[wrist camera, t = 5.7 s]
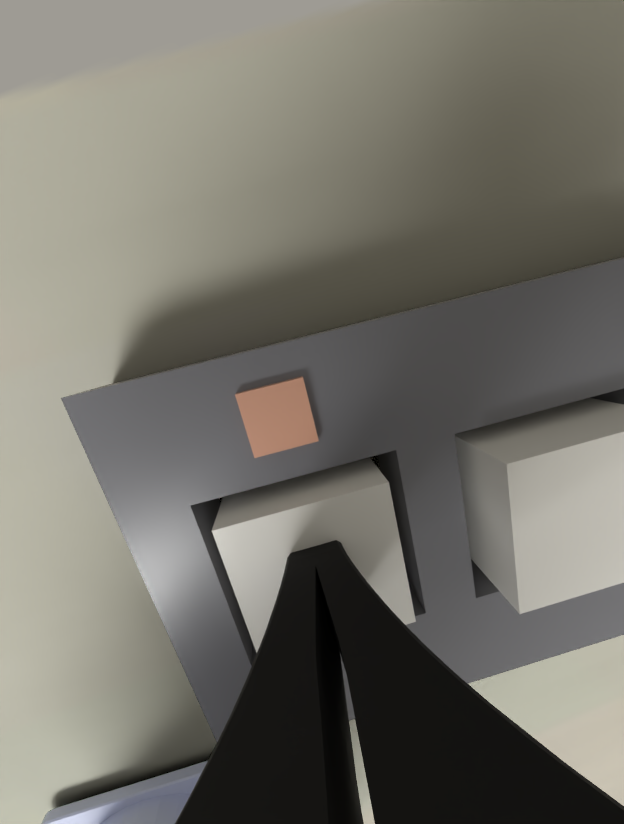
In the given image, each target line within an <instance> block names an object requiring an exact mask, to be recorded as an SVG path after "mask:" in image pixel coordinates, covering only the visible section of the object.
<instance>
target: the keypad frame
mask: <svg viewBox="0 0 624 824" xmlns="http://www.w3.org/2000/svg"><path fill="white" fill-rule="evenodd" d="M586 398H593V399H598V400H603V401H608V402H613V403H618V404H624V257H620V258H616V259H612V260H608V261H604V262H600V263H596V264H592V265H588V266H584V267H580V268H576V269H572V270H568V271H564V272H560V273H556V274H552V275H548V276H544V277H540V278H536V279H532V280H528V281H524V282H520V283H516V284H512V285H508V286H504V287H499V288H495V289H491V290H487V291H483V292H479V293H475V294H471V295H467V296H463V297H459V298H455V299H451V300H447V301H443V302H439V303H435V304H431V305H427V306H423V307H419V308H415V309H411V310H407V311H403V312H399V313H395V314H391V315H387V316H383V317H379V318H375V319H371V320H367V321H363V322H359V323H354V324H350V325H346V326H342V327H338V328H334V329H330V330H326V331H322V332H318V333H314V334H310V335H306V336H302V337H298V338H294V339H290V340H286V341H282V342H278V343H274V344H270V345H266V346H262V347H258V348H254V349H250V350H246V351H242V352H238V353H234V354H230V355H226V356H222V357H218V358H213V359H209V360H205V361H201V362H197V363H193V364H189V365H185V366H181V367H177V368H173V369H169V370H165V371H161V372H157V373H153V374H149V375H145V376H141V377H137V378H133V379H129V380H125V381H121V382H117V383H113V384H109V385H106V386H102V387H99V388H95V389H91V390H88V391H84V392H81V393H77V394H74V395H70V396H67V397H63V398H61V399H62V401H63V404H64V406H65V408H66V410H67V412H68V415H69V417H70V419H71V421H72V424H73V426H74V428H75V430H76V432H77V435H78V437H79V439H80V441H81V443H82V446H83V448H84V450H85V452H86V454H87V457H88V459H89V461H90V463H91V465H92V468H93V470H94V472H95V474H96V476H97V479H98V481H99V483H100V485H101V488H102V490H103V492H104V494H105V496H106V499H107V501H108V503H109V505H110V507H111V510H112V512H113V514H114V516H115V518H116V521H117V523H118V525H119V527H120V529H121V532H122V534H123V536H124V538H125V541H126V543H127V545H128V547H129V549H130V552H131V554H132V556H133V558H134V560H135V563H136V565H137V567H138V569H139V571H140V574H141V576H142V578H143V580H144V582H145V585H146V587H147V589H148V591H149V593H150V596H151V598H152V600H153V602H154V605H155V607H156V609H157V611H158V613H159V616H160V618H161V620H162V622H163V624H164V627H165V629H166V631H167V633H168V635H169V638H170V640H171V642H172V644H173V646H174V649H175V651H176V653H177V655H178V658H179V660H180V662H181V664H182V666H183V669H184V671H185V673H186V675H187V677H188V680H189V682H190V684H191V686H192V688H193V691H194V693H195V695H196V697H197V699H198V702H199V704H200V706H201V708H202V710H203V713H204V715H205V717H206V719H207V722H208V724H209V726H210V728H211V730H212V733H213V735H214V737H215V739H216V741H217V742H218V740H219V738H220V736H221V734H222V732H223V730H224V727H225V725H226V723H227V721H228V719H229V717H230V715H231V713H232V711H233V708H234V706H235V704H236V702H237V700H238V697H239V695H240V693H241V691H242V688H243V686H244V684H245V681H246V679H247V677H248V674H249V672H250V669H251V667H252V664H253V662H254V659H255V657H256V654H257V653H256V650H255V647H254V645H253V642H252V639H251V636H250V634H249V631H248V628H247V626H246V623H245V620H244V617H243V615H242V612H241V609H240V607H239V604H238V601H237V598H236V596H235V593H234V590H233V588H232V585H231V582H230V579H229V577H228V574H227V571H226V569H225V566H224V563H223V560H222V558H221V555H220V552H219V550H218V547H217V544H216V541H215V539H214V536H213V533H212V528H213V525H214V522H215V519H216V516H217V513H218V510H219V507H220V501H219V498H221V497H224V496H228V495H232V494H235V493H239V492H243V491H246V490H250V489H254V488H258V487H261V486H265V485H269V484H272V483H276V482H280V481H283V480H287V479H291V478H294V477H298V476H302V475H306V474H309V473H313V472H317V471H320V470H324V469H328V468H331V467H335V466H339V465H342V464H346V463H350V462H354V461H357V460H361V459H365V458H368V457H372V456H376V455H377V457H378V462H379V467H380V471H381V473H382V474H383V475H384V476H385V478H386V479H387V480H388V482H389V486H390V491H391V496H392V501H393V506H394V511H395V516H396V522H397V527H398V532H399V537H400V542H401V547H402V553H403V558H404V563H405V568H406V573H407V578H408V583H409V589H410V594H411V599H412V604H413V609H414V614H415V619H416V622H413V623H410V624H407V625H406V626H407V627H408V628H409V629H410V630H411V631H412V632H413V633H414V634H415V635H416V636H417V637H418V638H419V639H420V640H421V641H422V642H423V643H424V644H425V645H426V646H427V647H428V648H429V649H430V650H431V651H432V652H433V653H434V654H435V655H436V656H437V657H438V658H440V659H441V660H442V661H443V662H444V663H445V664H446V665H447V666H448V667H449V668H450V669H451V670H453V671H454V672H455V673H456V674H457V675H458V676H459V677H460V678H462V679H463V680H464V681H465V682H466V683H471V682H474V681H477V680H480V679H483V678H487V677H490V676H493V675H496V674H499V673H503V672H506V671H509V670H512V669H515V668H519V667H522V666H525V665H528V664H531V663H534V662H538V661H541V660H544V659H547V658H550V657H554V656H557V655H560V654H563V653H566V652H570V651H573V650H576V649H579V648H582V647H586V646H589V645H592V644H595V643H598V642H602V641H605V640H608V639H611V638H614V637H618V636H621V635H624V583H621V584H618V585H614V586H611V587H608V588H604V589H601V590H598V591H595V592H591V593H588V594H585V595H581V596H578V597H575V598H571V599H568V600H565V601H562V602H558V603H555V604H552V605H548V606H545V607H542V608H539V609H535V610H532V611H529V612H525V613H522V614H519V613H518V612H517V611H516V609H515V608H514V607H513V606H512V605H511V604H510V603H509V601H508V600H507V599H506V598H505V597H504V596H503V595H502V593H501V592H500V591H499V590H498V589H497V588H496V587H495V586H494V584H493V583H492V582H491V581H490V580H489V579H488V578H487V576H486V575H485V574H484V573H483V572H482V571H481V570H480V568H479V567H478V566H477V565H476V564H475V563H474V562H473V560H472V559H471V556H470V548H469V540H468V533H467V525H466V517H465V510H464V502H463V494H462V486H461V479H460V471H459V463H458V456H457V448H456V440H455V434H457V433H461V432H464V431H468V430H472V429H475V428H479V427H483V426H486V425H490V424H494V423H498V422H501V421H505V420H509V419H512V418H516V417H520V416H523V415H527V414H531V413H534V412H538V411H542V410H546V409H549V408H553V407H557V406H560V405H564V404H568V403H571V402H575V401H579V400H582V399H586ZM340 656H341V654H340ZM341 664H342V671H343V679H344V687H345V695H346V702H347V710H348V718H349V720H352V719H355V715H354V710H353V704H352V699H351V694H350V689H349V684H348V679H347V674H346V671H345V668H344V664H343V661H342V657H341Z"/></svg>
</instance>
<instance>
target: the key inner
mask: <svg viewBox="0 0 624 824" xmlns="http://www.w3.org/2000/svg"><path fill="white" fill-rule="evenodd" d="M212 533H213V536H214V539H215V541H216V544H217V547H218V550H219V552H220V555H221V558H222V560H223V563H224V566H225V569H226V571H227V574H228V577H229V579H230V582H231V585H232V588H233V590H234V593H235V596H236V598H237V601H238V604H239V607H240V609H241V612H242V615H243V617H244V620H245V623H246V626H247V628H248V631H249V634H250V636H251V639H252V642H253V645H254V647H255V650H256V653H257V652H258V649H259V647H260V644H261V642H262V639H263V636H264V634H265V631H266V628H267V625H268V622H269V619H270V616H271V613H272V610H273V608H274V605H275V602H276V599H277V595H278V592H279V589H280V585H281V582H282V578H283V574H284V570H285V566H286V561H287V557H288V556H289V554H290V553H292V552H296V551H299V550H303V549H306V548H310V547H314V546H317V545H321V544H324V543H327V542H331V541H334V540H337V541H339V542H341V543H342V546H343V548H344V549H345V551H346V553H347V555H348V556H349V558H350V559H351V561H352V562H353V564H354V565H355V566H356V568H357V569H358V571H359V572H360V573H361V575H362V576H363V577H364V578H365V580H366V581H367V582H368V583H369V585H370V586H371V587H372V588H373V589H374V591H375V592H376V593H377V594H378V595H379V597H380V598H381V599H382V600H383V601H384V602H385V604H386V605H387V606H388V607H389V608H390V609H391V610H392V611H393V612H394V614H395V615H396V616H397V617H398V618H399V619H400V620H401V621H402V622H403V623H404V624H405V625H407V624H410V623H413V622H416V619H415V614H414V609H413V604H412V599H411V594H410V589H409V583H408V578H407V573H406V568H405V563H404V558H403V553H402V547H401V542H400V537H399V532H398V527H397V522H396V516H395V511H394V506H393V501H392V496H391V491H390V486H389V482H388V480H387V479H386V478H385V476H384V475H383V474H382V473H381V471H380V470H379V469H378V467H377V466H376V465H375V464H374V462H373V461H372V460H371V458H370V457H368V458H365V459H361V460H357V461H354V462H350V463H346V464H342V465H339V466H335V467H331V468H328V469H324V470H320V471H317V472H313V473H309V474H306V475H302V476H298V477H294V478H291V479H287V480H283V481H280V482H276V483H272V484H269V485H265V486H261V487H258V488H254V489H250V490H246V491H243V492H239V493H235V494H232V495H228V496H224V497H223V498H222V501H221V504H220V507H219V510H218V513H217V516H216V519H215V522H214V525H213V528H212Z"/></svg>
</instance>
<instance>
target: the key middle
mask: <svg viewBox="0 0 624 824" xmlns="http://www.w3.org/2000/svg"><path fill="white" fill-rule="evenodd" d="M455 440H456V448H457V456H458V463H459V471H460V479H461V486H462V494H463V502H464V510H465V517H466V525H467V533H468V540H469V548H470V556H471V559H472V560H473V562H474V563H475V564H476V565H477V566H478V567H479V568H480V570H481V571H482V572H483V573H484V574H485V575H486V576H487V578H488V579H489V580H490V581H491V582H492V583H493V584H494V586H495V587H496V588H497V589H498V590H499V591H500V592H501V593H502V595H503V596H504V597H505V598H506V599H507V600H508V601H509V603H510V604H511V605H512V606H513V607H514V608H515V609H516V611H517V612H518V613H519V614H522V613H525V612H529V611H532V610H535V609H539V608H542V607H545V606H548V605H552V604H555V603H558V602H562V601H565V600H568V599H571V598H575V597H578V596H581V595H585V594H588V593H591V592H595V591H598V590H601V589H604V588H608V587H611V586H614V585H618V584H621V583H624V404H618V403H613V402H608V401H603V400H598V399H593V398H586V399H582V400H579V401H575V402H571V403H568V404H564V405H560V406H557V407H553V408H549V409H546V410H542V411H538V412H534V413H531V414H527V415H523V416H520V417H516V418H512V419H509V420H505V421H501V422H498V423H494V424H490V425H486V426H483V427H479V428H475V429H472V430H468V431H464V432H461V433H457V434H455Z"/></svg>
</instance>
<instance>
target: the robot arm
mask: <svg viewBox="0 0 624 824" xmlns="http://www.w3.org/2000/svg"><path fill="white" fill-rule="evenodd" d="M340 654H341V656H340ZM341 657H342V661H343V664H344V668H345V671H346V674H347V679H348V684H349V689H350V694H351V699H352V704H353V710H354V715H355V720H356V725H357V730H358V736H359V741H360V746H361V751H362V757H363V762H364V767H365V772H366V778H367V783H368V788H369V793H370V799H371V804H372V810H373V815H374V820H375V824H624V806H622V805H621V804H620V803H618V802H617V801H616V800H614V799H613V798H612V797H610V796H609V795H608V794H606V793H605V792H604V791H602V790H601V789H600V788H598V787H597V786H596V785H594V784H593V783H591V782H590V781H589V780H587V779H586V778H585V777H583V776H582V775H581V774H579V773H578V772H577V771H575V770H574V769H573V768H571V767H570V766H569V765H567V764H566V763H565V762H563V761H562V760H561V759H559V758H558V757H557V756H556V755H554V754H553V753H552V752H551V751H549V750H548V749H547V748H546V747H544V746H543V745H542V744H541V743H539V742H538V741H537V740H536V739H534V738H533V737H532V736H531V735H529V734H528V733H527V732H526V731H524V730H523V729H522V728H521V727H519V726H518V725H517V724H516V723H514V722H513V721H512V720H511V719H509V718H508V717H507V716H506V715H504V714H503V713H502V712H501V711H499V710H498V709H497V708H495V707H494V706H493V705H492V704H490V703H489V702H488V701H487V700H486V699H485V698H483V697H482V696H481V695H480V694H479V693H478V692H476V691H475V690H474V689H473V688H472V687H471V686H470V685H468V684H467V683H466V682H465V681H464V680H463V679H462V678H460V677H459V676H458V675H457V674H456V673H455V672H454V671H453V670H451V669H450V668H449V667H448V666H447V665H446V664H445V663H444V662H443V661H442V660H441V659H440V658H438V657H437V656H436V655H435V654H434V653H433V652H432V651H431V650H430V649H429V648H428V647H427V646H426V645H425V644H424V643H423V642H422V641H421V640H420V639H419V638H418V637H417V636H416V635H415V634H414V633H413V632H412V631H411V630H410V629H409V628H408V627H407V626H406V625H405V624H404V623H403V622H402V621H401V620H400V619H399V618H398V617H397V616H396V615H395V614H394V612H393V611H392V610H391V609H390V608H389V607H388V606H387V605H386V604H385V602H384V601H383V600H382V599H381V598H380V597H379V595H378V594H377V593H376V592H375V591H374V589H373V588H372V587H371V586H370V585H369V583H368V582H367V581H366V580H365V578H364V577H363V576H362V575H361V573H360V572H359V571H358V569H357V568H356V566H355V565H354V564H353V562H352V561H351V559H350V558H349V556H348V555H347V553H346V551H345V549H344V548H343V546H342V543H341V542H339V541H337V540H334V541H331V542H327V543H324V544H321V545H317V546H314V547H310V548H306V549H303V550H299V551H296V552H292V553H290V554H289V556H288V557H287V561H286V566H285V570H284V574H283V578H282V582H281V585H280V589H279V592H278V595H277V599H276V602H275V605H274V608H273V610H272V613H271V616H270V619H269V622H268V625H267V628H266V631H265V634H264V636H263V639H262V642H261V644H260V647H259V649H258V652H257V654H256V657H255V659H254V662H253V664H252V667H251V669H250V672H249V674H248V677H247V679H246V681H245V684H244V686H243V688H242V691H241V693H240V695H239V697H238V700H237V702H236V704H235V706H234V708H233V711H232V713H231V715H230V717H229V719H228V721H227V723H226V725H225V727H224V730H223V732H222V734H221V736H220V738H219V740H218V742H217V744H216V746H215V748H214V750H213V752H212V754H211V756H210V758H209V760H208V761H204V762H201V763H198V764H195V765H192V766H188V767H185V768H182V769H179V770H176V771H172V772H169V773H166V774H163V775H160V776H156V777H153V778H150V779H147V780H144V781H140V782H137V783H134V784H131V785H128V786H124V787H121V788H118V789H115V790H112V791H108V792H105V793H102V794H99V795H95V796H92V797H89V798H86V799H83V800H79V801H76V802H73V803H70V804H67V805H63V806H60V807H57V808H54V809H52V810H50V811H49V812H48V813H47V814H46V815H45V817H44V819H43V821H42V823H41V824H364V823H363V818H362V813H361V806H360V800H359V793H358V787H357V780H356V773H355V765H354V757H353V750H352V742H351V734H350V726H349V718H348V710H347V702H346V695H345V687H344V679H343V671H342V664H341Z"/></svg>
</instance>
